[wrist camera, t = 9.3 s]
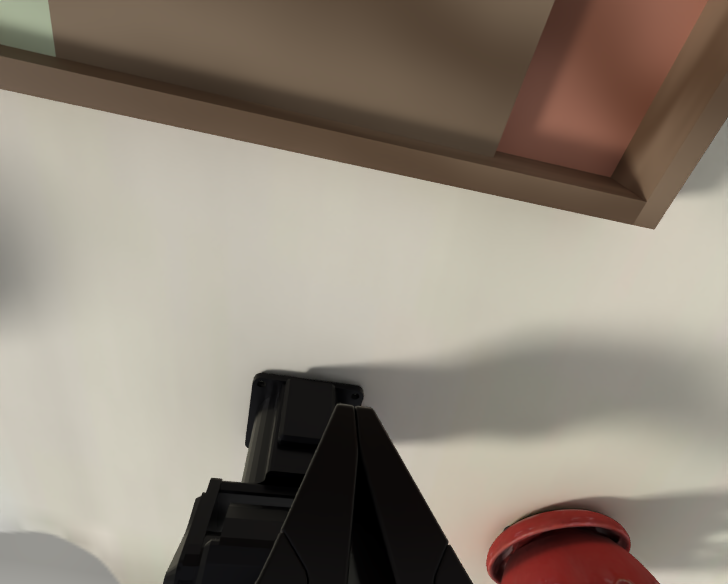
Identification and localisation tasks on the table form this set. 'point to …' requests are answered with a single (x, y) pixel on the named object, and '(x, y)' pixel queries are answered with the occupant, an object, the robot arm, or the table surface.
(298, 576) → the robot arm
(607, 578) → the plant pot
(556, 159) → the trap channel
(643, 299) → the table surface
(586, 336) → the table surface
